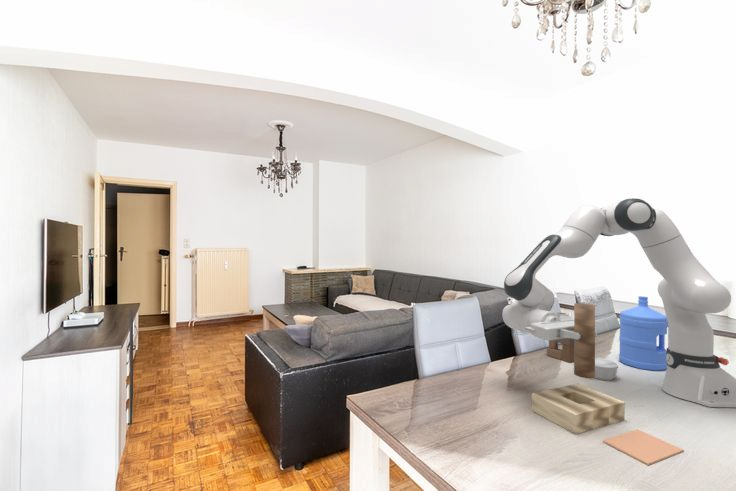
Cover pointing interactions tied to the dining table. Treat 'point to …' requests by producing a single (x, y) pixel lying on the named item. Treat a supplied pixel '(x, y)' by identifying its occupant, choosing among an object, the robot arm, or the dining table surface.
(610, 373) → the ramekin
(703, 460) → the dining table surface
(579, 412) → the slotted wood base
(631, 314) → the water jug
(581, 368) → the walnut key peg
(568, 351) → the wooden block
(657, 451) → the terracotta mat
